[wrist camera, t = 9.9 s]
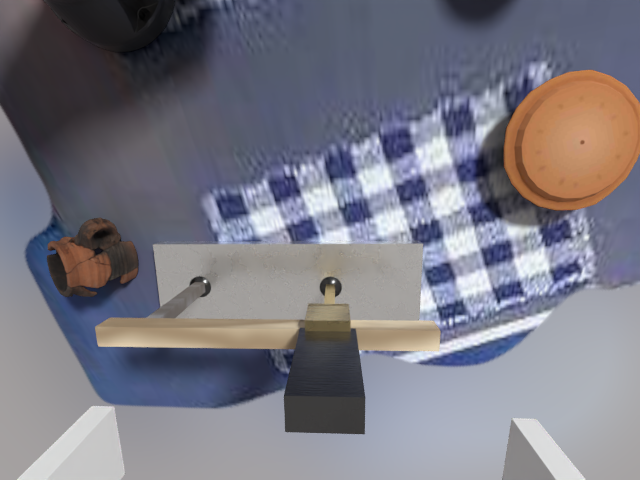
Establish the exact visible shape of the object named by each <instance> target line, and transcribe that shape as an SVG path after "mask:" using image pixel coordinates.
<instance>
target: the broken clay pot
mask: <svg viewBox="0 0 640 480" xmlns="http://www.w3.org/2000/svg"><path fill="white" fill-rule="evenodd" d="M120 238H121V236H120V234H119V233H118V232H117V229H116V226H115V225H114V224H113V223H111V222H110V221H108V220H106V219H102V218H94V219H90V220H88V221H86V222H85V223H84V224H82V226H81V228H80V230H79V232H78V235H76V236H75V237H74V238H73V237H72V238H71V237H63V238H62V239H61V240H60V241H51V242H50V243H49V244H48V250H50V251H51V250H56V254H53V255H48V256H47V262H48V267H49V271H50V274H51V277H52V279H53V282H54V284H55V286H56V288H57V290H58V291H59V292H60V294H61V295H63V296H65V297H70V296H71V297H72V296H73V294H76V295H79V296H84V297H85V296H89V297H93V296H95V295H97V292H93V291H90V290H87V289H86V288H85V287H84V286H86V287H92V288H100V287H102V286H104V285H105V284H106V283H107V281H108V280H109V281H111V280H113V279H115V278H117V277H120V276H121V280H120V283H122V284H123V283H126V282H128V281H130V280H131V279H133V278H135V277H136V275H137V272H138V257H137V252H136V249H135V247H134V245H133V243H132V242H131V241H128V242H124V241H123V242H121V241H120ZM97 248H99V249H102V250H103V252H102V253H100V254H98V255H96V254H95V251H94V249H97Z"/></svg>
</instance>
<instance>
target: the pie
mask: <svg viewBox="0 0 640 480" xmlns="http://www.w3.org/2000/svg"><path fill="white" fill-rule="evenodd" d="M639 153H640V104H639V102H638V100H637V99H636V98H635V96H634V95H633V94H632V93H631V91H630V90H629V89H628V87H627V86H626V85H624V84H622V83H621V82H619V81H618V80H616V79H615V78H613V77H611V76H609V75H606V74H603V73H600V72H597V71H594V70H584V71H574V72H568V73H565V74H563V75H560V76H558V77H555V78H553V79H550V80H548V81H547V82H545V83H544V84H542V85H541V86H539V87H537V88H536V89H534V90H533V91H531V92H530V93H529V94H528V95H527V96H526V98H525V99H524V100H523V101H522V102H521V103H520V105H519V106H518V107H517V108H516V110H515V112H514V114H513V116H512V118H511V120H510V121H509V123H508V125H507V127H506V133H505V141H504V168H505V171H506V173H507V175H508V177H509V179H510V182H511V184H512V185H513V186H514V187H515V188H516V190H517V191H518V192H519V193H520V194H521V195H522V197H524V198H525V199H527V200H529V201H530V202H532V203H534V204H535V205H537V206H539V207H543V208H547V209H552V210H577V209H581V208H584V207H588V206H591V205H595V204H597V203H598V202H599V201H601V200H602V199H603V198H605V197H606V196H607V195H609V194H610V193H611V192H612V191H613V190H615V189H616V188H617V187H618V186H619V185H620V184H621V183H622V182H623V181H624V180H625V179H626V178H627V176H628V175H629V173H630V171H631V169H632V168H633V166H634V164H635V162H636V161H637V159H638V156H639Z"/></svg>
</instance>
